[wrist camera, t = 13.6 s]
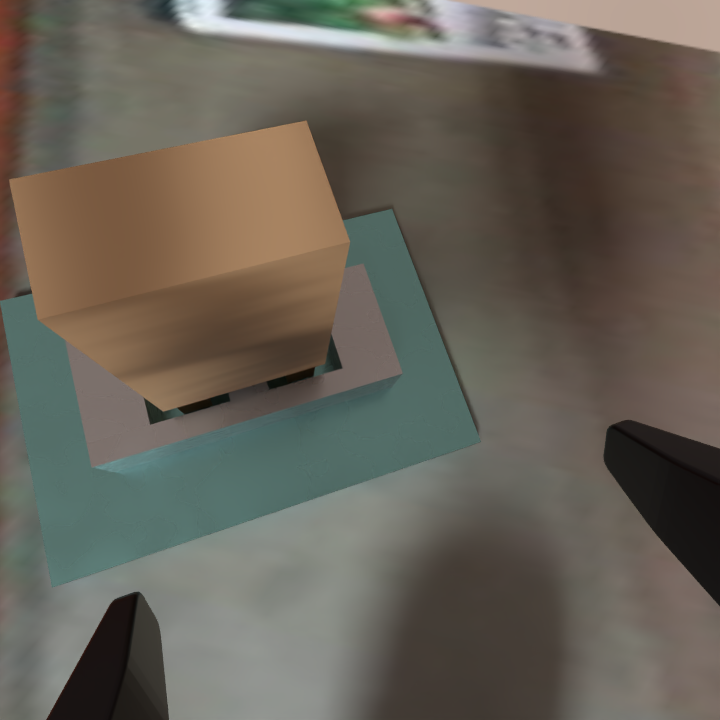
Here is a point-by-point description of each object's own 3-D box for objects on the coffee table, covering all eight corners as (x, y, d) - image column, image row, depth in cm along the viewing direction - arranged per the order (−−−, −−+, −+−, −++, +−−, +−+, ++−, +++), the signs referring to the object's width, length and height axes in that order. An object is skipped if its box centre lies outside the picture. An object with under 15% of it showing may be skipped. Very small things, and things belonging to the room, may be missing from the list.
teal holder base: (389, 217, 27) (401, 178, 24) (474, 443, 24) (502, 433, 21) (9, 307, 23) (-36, 276, 20) (61, 584, 21) (18, 598, 17)
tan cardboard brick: (300, 323, 24) (306, 120, 11) (320, 385, 23) (350, 241, 11) (166, 360, 23) (9, 179, 10) (183, 426, 22) (37, 319, 10)
